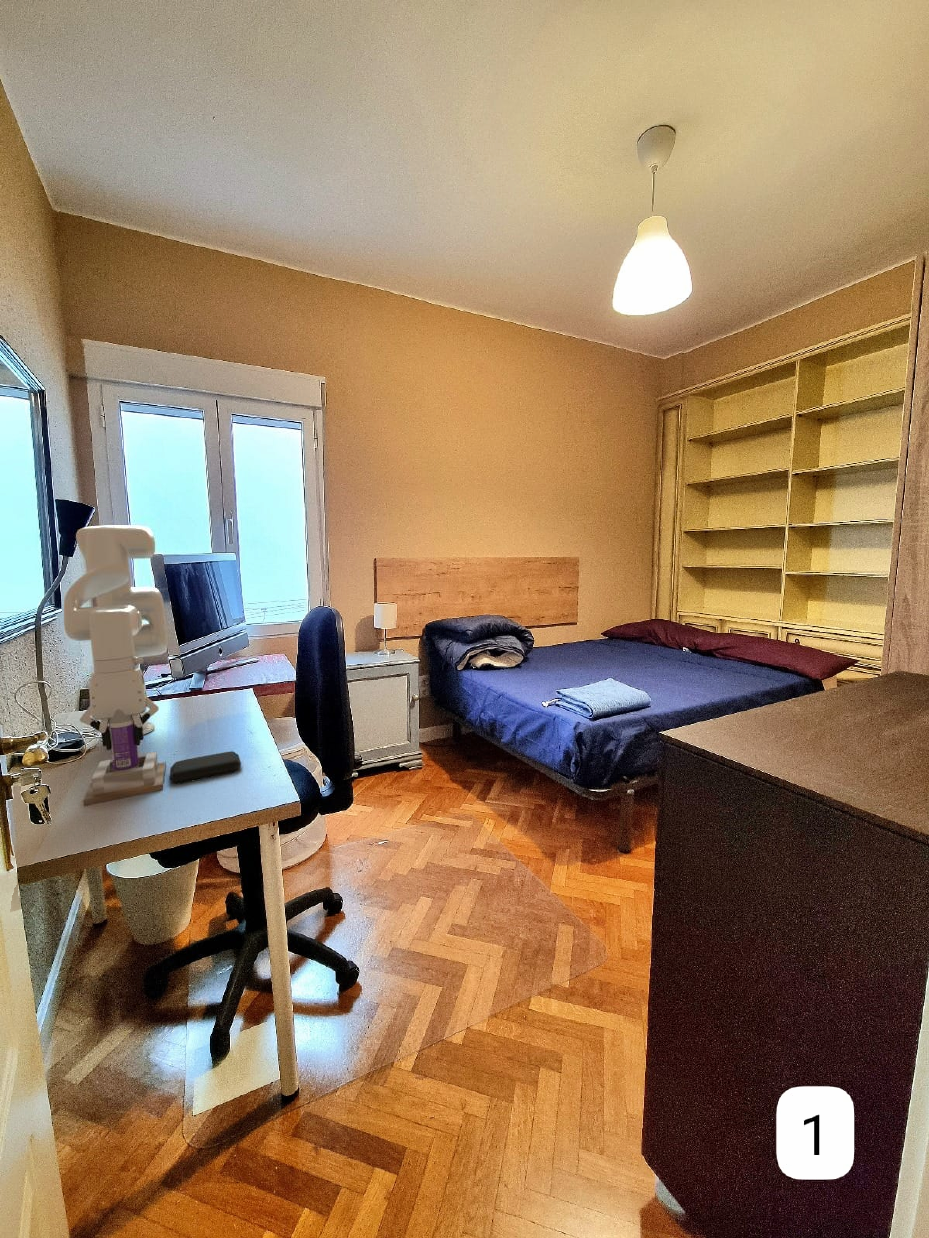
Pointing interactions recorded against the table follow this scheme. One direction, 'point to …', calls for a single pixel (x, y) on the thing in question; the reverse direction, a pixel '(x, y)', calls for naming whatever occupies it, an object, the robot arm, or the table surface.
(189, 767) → the carrying case or bag
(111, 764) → the mount
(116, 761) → the container
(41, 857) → the table surface
